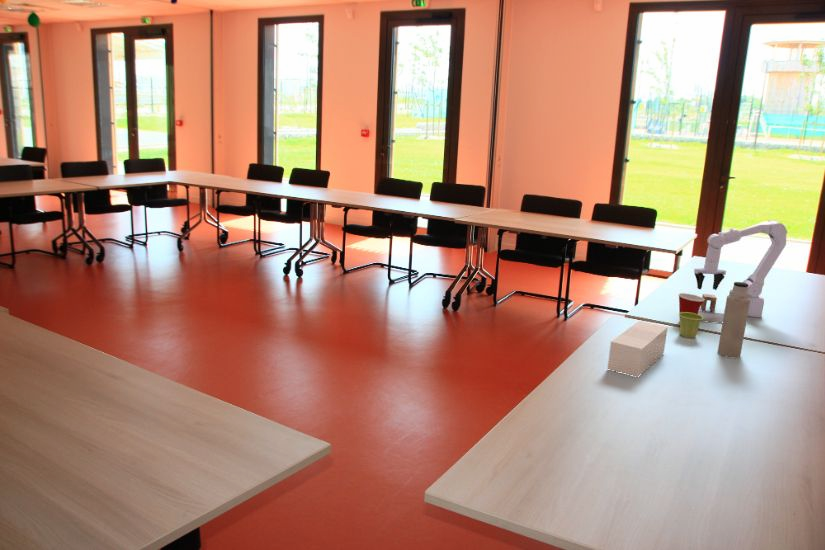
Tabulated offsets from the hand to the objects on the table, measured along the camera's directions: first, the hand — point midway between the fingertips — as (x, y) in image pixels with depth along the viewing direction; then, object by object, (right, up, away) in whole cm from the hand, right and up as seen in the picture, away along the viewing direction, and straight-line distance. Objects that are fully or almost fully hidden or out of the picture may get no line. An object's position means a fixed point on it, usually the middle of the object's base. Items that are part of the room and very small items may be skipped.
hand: (706, 289), depth 319 cm
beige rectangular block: (-55, -25, -69) cm, 92 cm away
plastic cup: (-16, -14, -18) cm, 28 cm away
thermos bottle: (-15, -24, -56) cm, 63 cm away
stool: (+2, -10, +4) cm, 11 cm away
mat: (-1, -13, -9) cm, 16 cm away
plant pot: (-23, -19, -36) cm, 47 cm away
